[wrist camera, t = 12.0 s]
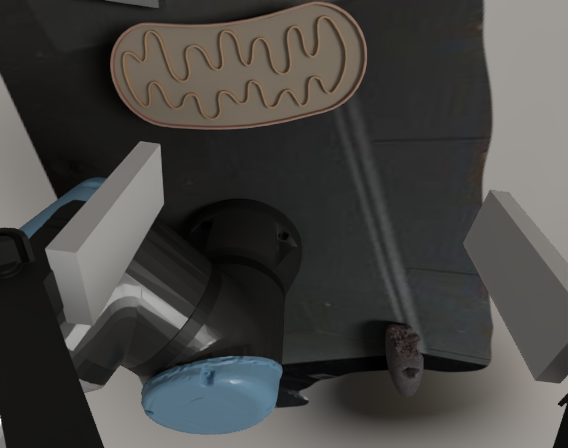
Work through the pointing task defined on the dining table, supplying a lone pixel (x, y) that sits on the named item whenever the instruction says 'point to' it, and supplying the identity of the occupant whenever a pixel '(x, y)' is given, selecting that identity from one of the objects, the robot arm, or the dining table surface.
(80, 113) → the dining table surface
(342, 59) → the anatomical model
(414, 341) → the perforated stone tool
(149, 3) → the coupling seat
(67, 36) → the dining table surface
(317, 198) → the dining table surface
